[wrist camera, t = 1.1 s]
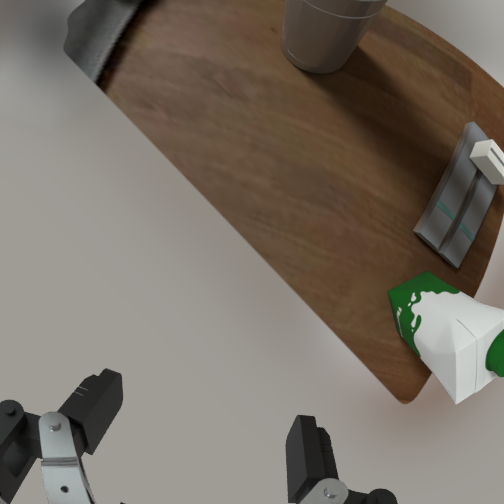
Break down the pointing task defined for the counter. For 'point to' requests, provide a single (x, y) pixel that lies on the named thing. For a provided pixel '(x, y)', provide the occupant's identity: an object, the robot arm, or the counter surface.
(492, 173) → the slider knob
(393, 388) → the counter surface
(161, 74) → the counter surface
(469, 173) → the slider panel
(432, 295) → the milk carton
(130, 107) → the counter surface
